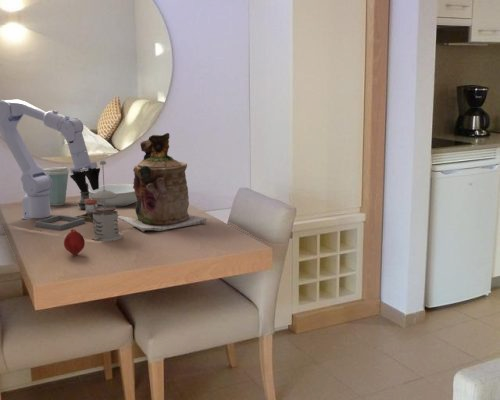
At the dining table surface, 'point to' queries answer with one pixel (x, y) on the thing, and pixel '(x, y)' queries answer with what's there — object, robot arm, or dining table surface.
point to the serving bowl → (123, 194)
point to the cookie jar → (161, 189)
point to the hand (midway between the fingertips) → (90, 190)
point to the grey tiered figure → (83, 198)
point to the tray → (47, 222)
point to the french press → (105, 216)
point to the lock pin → (90, 206)
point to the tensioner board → (87, 219)
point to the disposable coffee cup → (58, 184)
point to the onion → (74, 242)
